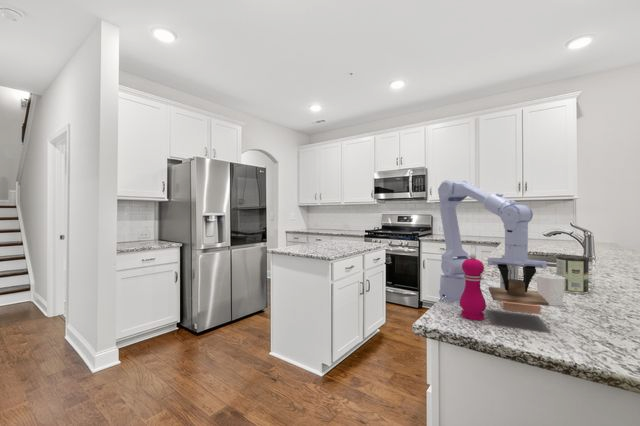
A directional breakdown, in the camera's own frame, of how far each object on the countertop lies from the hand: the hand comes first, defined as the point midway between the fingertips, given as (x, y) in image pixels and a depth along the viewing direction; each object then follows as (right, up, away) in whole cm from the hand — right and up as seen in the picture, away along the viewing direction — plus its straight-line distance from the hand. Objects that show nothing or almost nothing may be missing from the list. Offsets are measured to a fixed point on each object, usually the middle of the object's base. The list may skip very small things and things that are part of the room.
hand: (515, 290), depth 89 cm
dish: (+8, -9, +11) cm, 17 cm away
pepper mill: (-11, -10, +3) cm, 15 cm away
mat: (0, -9, 0) cm, 9 cm away
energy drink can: (+17, -9, +30) cm, 35 cm away
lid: (0, -2, 0) cm, 2 cm away
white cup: (+23, -9, +16) cm, 29 cm away
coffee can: (+45, -9, +33) cm, 57 cm away
